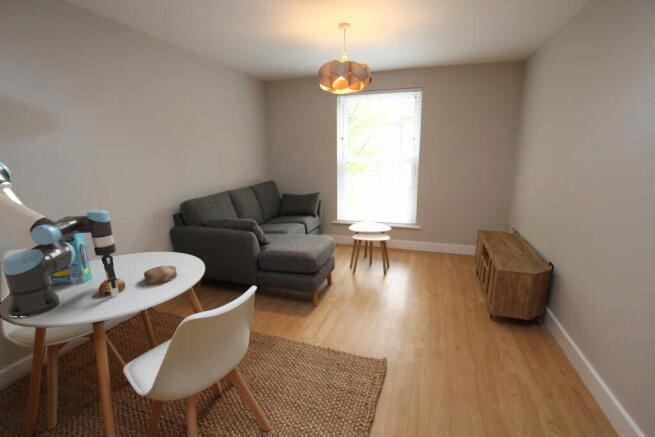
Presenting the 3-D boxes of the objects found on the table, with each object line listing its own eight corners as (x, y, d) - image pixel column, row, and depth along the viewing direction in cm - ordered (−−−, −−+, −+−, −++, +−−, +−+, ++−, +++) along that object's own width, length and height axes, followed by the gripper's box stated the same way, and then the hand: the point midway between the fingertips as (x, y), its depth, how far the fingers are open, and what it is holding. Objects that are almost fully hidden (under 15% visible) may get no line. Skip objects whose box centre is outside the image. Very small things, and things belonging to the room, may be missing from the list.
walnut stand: (148, 287, 142) (147, 279, 141) (142, 278, 153) (141, 270, 152) (180, 278, 151) (179, 271, 150) (172, 270, 162) (171, 263, 161)
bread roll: (129, 295, 143) (132, 277, 144) (112, 296, 133) (115, 277, 134) (109, 294, 144) (112, 277, 145) (91, 295, 134) (94, 276, 135)
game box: (39, 285, 146) (25, 231, 140) (49, 280, 152) (37, 227, 146) (84, 283, 148) (73, 229, 142) (93, 278, 154) (82, 226, 148)
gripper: (118, 249, 128) (127, 295, 132) (111, 237, 146) (119, 278, 151) (96, 253, 123) (106, 301, 128) (91, 240, 141) (100, 283, 146)
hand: (113, 289), depth 139 cm, fingers open, 13 cm apart
